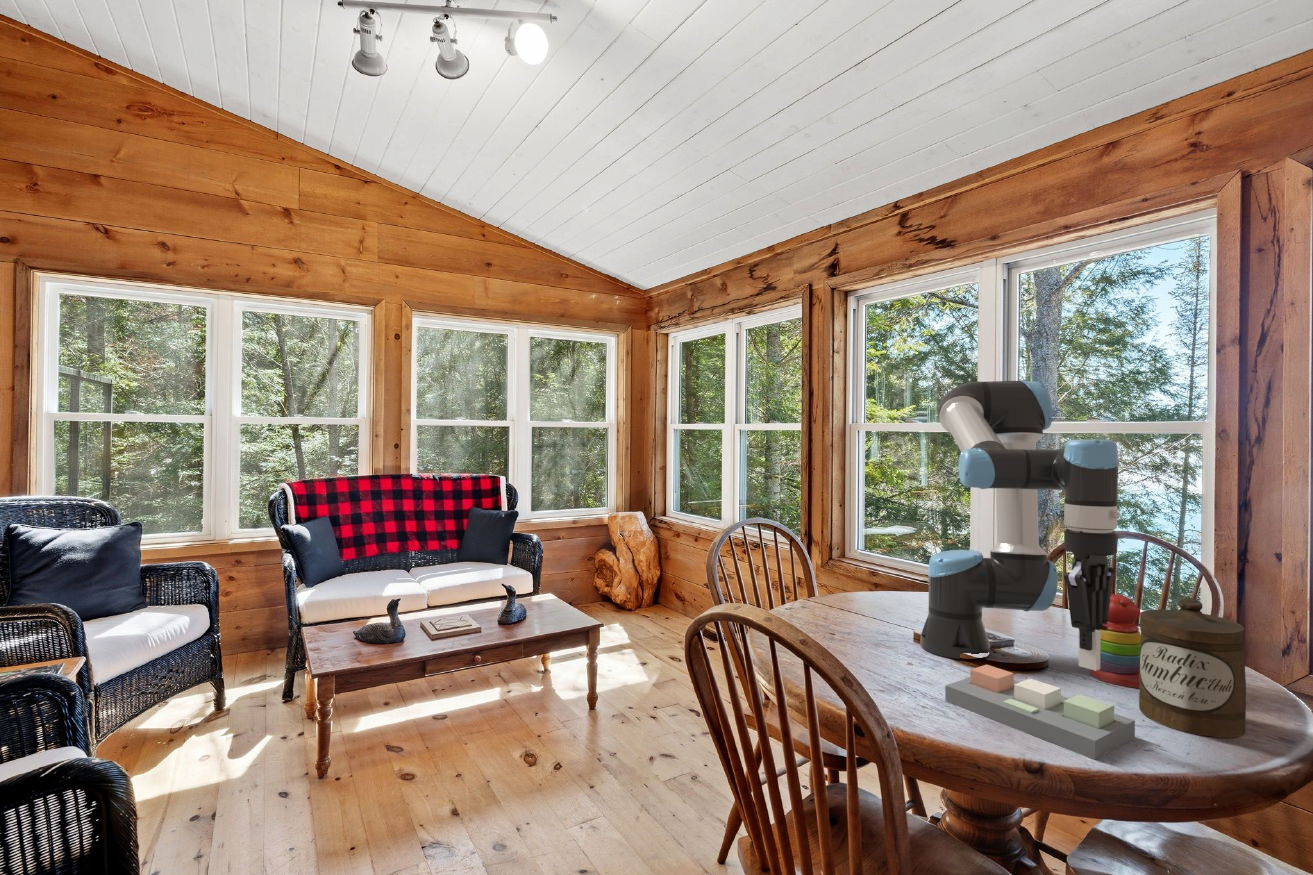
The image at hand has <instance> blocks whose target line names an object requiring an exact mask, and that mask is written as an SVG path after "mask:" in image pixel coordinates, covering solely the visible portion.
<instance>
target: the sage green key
mask: <svg viewBox="0 0 1313 875" xmlns="http://www.w3.org/2000/svg"><path fill="white" fill-rule="evenodd" d="M1114 713H1115V705H1114V704H1110V703H1108V702H1105V701H1102V700H1099V699H1095V698H1092V697H1089V696H1086V695H1084V694H1083V695H1082V694H1076V695H1075V696H1072V697H1070V698H1069V699H1067V700H1065V701H1064V717H1066V718H1069V719H1072V720H1074V721H1077V722H1080V723H1083V724H1086V725H1088V726H1091V727H1094V728H1097V729H1102V728H1104V727H1106V726H1108V725H1110V724H1112V723H1114Z"/></svg>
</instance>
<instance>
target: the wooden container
mask: <svg viewBox="0 0 1313 875" xmlns="http://www.w3.org/2000/svg"><path fill="white" fill-rule="evenodd" d="M1177 605H1178V607H1180V608H1179V609H1177V610H1176V609H1147V610H1143V611H1140V616H1139V631H1140V634H1141V646H1140V668H1139V688H1138V689H1139V691H1138V692H1139V693H1138V698H1139V699H1138V701H1139V703H1138V706H1139V710H1140V712H1141V713H1142V714H1143V715H1144V716H1145V717H1146V718H1149V719H1150V720H1153V721H1155V722H1156V723H1158V724H1160V725H1163V726H1165V727H1167V728H1172V729H1174V730H1177V731H1180V732H1184V733H1187V734H1188V733H1189V734H1193V735H1196V736H1197V735H1199V736H1204V737H1211V738H1227V739H1228V738H1238V737H1240V736H1242V735H1245V733H1246V729H1247V728H1246V727H1247V726H1246V721H1247V719H1246V718H1247V716H1246V709H1247V688H1246V687H1247V684H1246V683H1247V682H1246V681H1247V680H1246V678H1247V676H1246V652H1245V651H1246V650H1245V640H1246V639H1245V635H1246V634H1245V627H1244V626H1243V625H1241V624H1240V623H1238V622H1236V621H1234V620H1229V619H1228V618H1224V617H1221V616H1216V615H1212V614H1206V613H1203V612H1202V611H1201V610H1202V609H1203V602H1201V601H1199V600H1198V599H1196V598H1193V597H1183V598H1181V599H1179V600H1178V601H1177Z"/></svg>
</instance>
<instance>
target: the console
mask: <svg viewBox="0 0 1313 875" xmlns="http://www.w3.org/2000/svg"><path fill="white" fill-rule="evenodd" d="M970 680H971V676H970V677H967V678H964V679H960V680H958V681H954V682H952V683H948V684H946V685H945V686H944V687H945V688H944V689H945V691H944V692H945V693H944V694H945V695H944V698H945V699H944V700H945V702H947V703H950V704H952V705H955V706H958V707H960V708H963V709H965V710H966V711H967V710H968V711H970V712H973V713H975V714H978V715H980V716H982V717H986V718H988V719H990V720H993V721H995V722H997V723H1000V724H1003V725H1006V726H1008V727H1011V728H1014V729H1016V730H1019V731H1021V732H1023V733H1025V734H1028V735H1031V736H1034V737H1037V738H1038V739H1041V740H1044V741H1047V742H1049V743H1051V744H1055V745H1056V746H1059V747H1061V748H1064V749H1066V750H1068V751H1072V752H1074V753H1076V754H1078V755H1082V756H1084V757H1086V758H1087V757H1088V758H1090V759H1092V760H1097V759H1099V758H1101V757H1103V756H1104V755H1106V754H1108V753H1110V752H1111V751H1113V750H1115V749H1117V748H1119V747H1121V746H1122V745H1124V744H1126V743H1128V742H1130V741H1131V740H1133V739H1135V738H1136V720H1135V719H1132V718H1130V717H1127V716H1123V715H1121V714H1118V713H1116V712H1114V723H1112V724H1110V725H1108V726H1106V727H1104V728H1102V729H1097V728H1094V727H1091V726H1088V725H1086V724H1083V723H1080V722H1077V721H1074V720H1072V719H1069V718H1066V717H1064V701H1065V700H1067V699H1070V698H1068V697H1065V696H1064V695H1061V704H1059V705H1057V706H1055V707H1052V708H1050V709H1048V710H1043V709H1041V708H1038V707H1035V706H1032V705H1029V704H1026V703H1024V702H1021V701H1018V700H1015V699H1014V688H1012V689H1009V690H1006V691H1004V692H1001V693H995V692H993V691H990V690H987V689H984V688H981V687H979V686H976V685H973V684H970ZM1019 682H1020V681H1018V680H1015V679H1014V684H1017V683H1019Z"/></svg>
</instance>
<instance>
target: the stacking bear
mask: <svg viewBox="0 0 1313 875" xmlns="http://www.w3.org/2000/svg"><path fill="white" fill-rule="evenodd" d="M1140 614H1141V610H1140V609H1139V607H1138V606H1136V604H1135V603H1134V602H1133V600H1132V599H1130V598H1129V597H1128V596H1126V595H1123V594H1118V593H1117V594H1116V593H1114V594H1113V593H1112V592H1111V597H1110V606H1109V614H1108V622H1107V624H1103V626H1106V627H1108V629H1107V631H1104V630H1100V629H1099V631H1101V635H1100V669H1099V670H1097V671H1095V670H1091V669H1089V670H1090V676H1092V677H1093V678H1096V679H1097V680H1100V681H1102V682H1106V683H1108V684H1113V685H1117V686H1121V687H1127V688H1134V689H1139V668H1140V646H1141V631H1140V627H1138V626H1137V624H1136V623H1135V622H1136V621H1137V620H1138V618H1140Z"/></svg>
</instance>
